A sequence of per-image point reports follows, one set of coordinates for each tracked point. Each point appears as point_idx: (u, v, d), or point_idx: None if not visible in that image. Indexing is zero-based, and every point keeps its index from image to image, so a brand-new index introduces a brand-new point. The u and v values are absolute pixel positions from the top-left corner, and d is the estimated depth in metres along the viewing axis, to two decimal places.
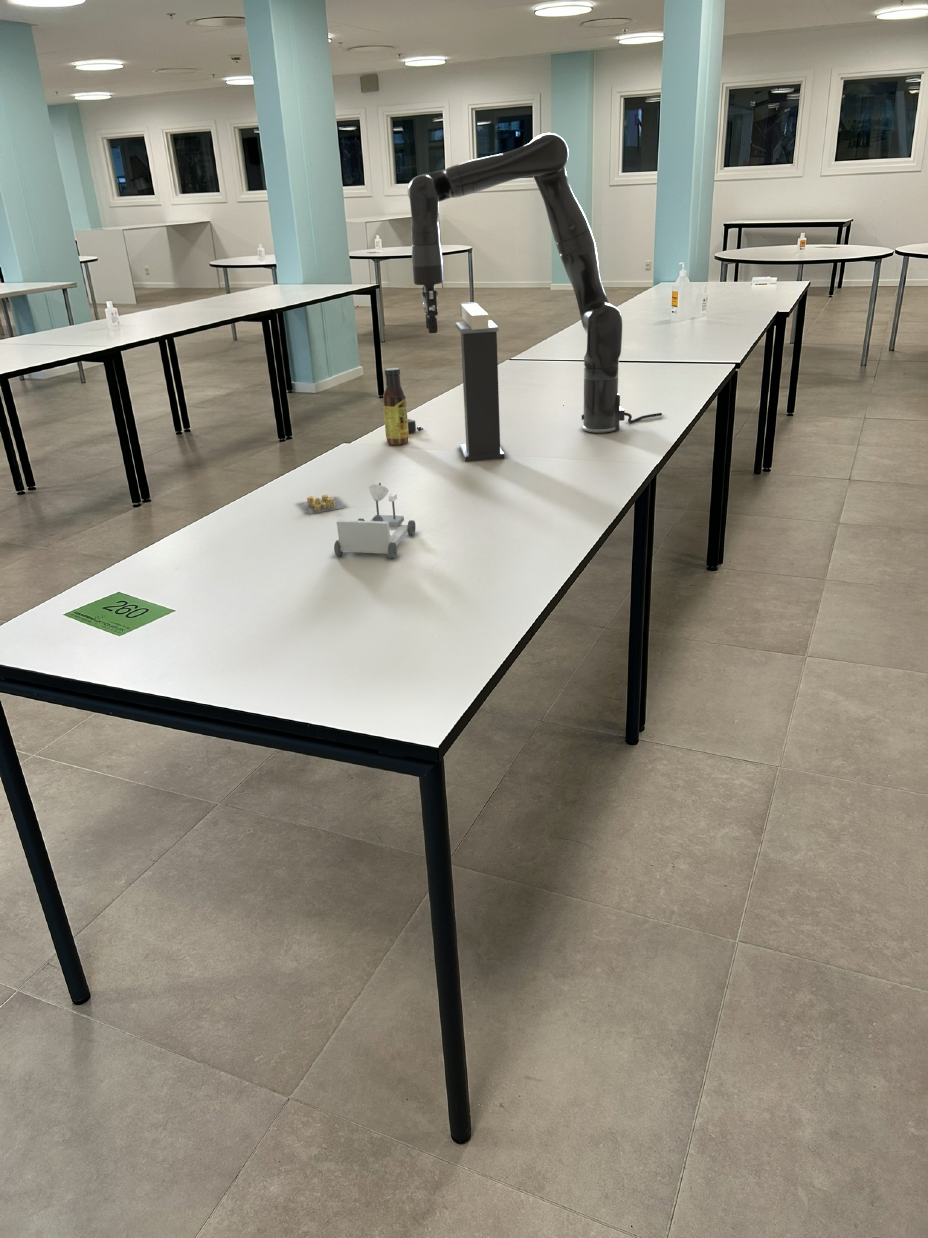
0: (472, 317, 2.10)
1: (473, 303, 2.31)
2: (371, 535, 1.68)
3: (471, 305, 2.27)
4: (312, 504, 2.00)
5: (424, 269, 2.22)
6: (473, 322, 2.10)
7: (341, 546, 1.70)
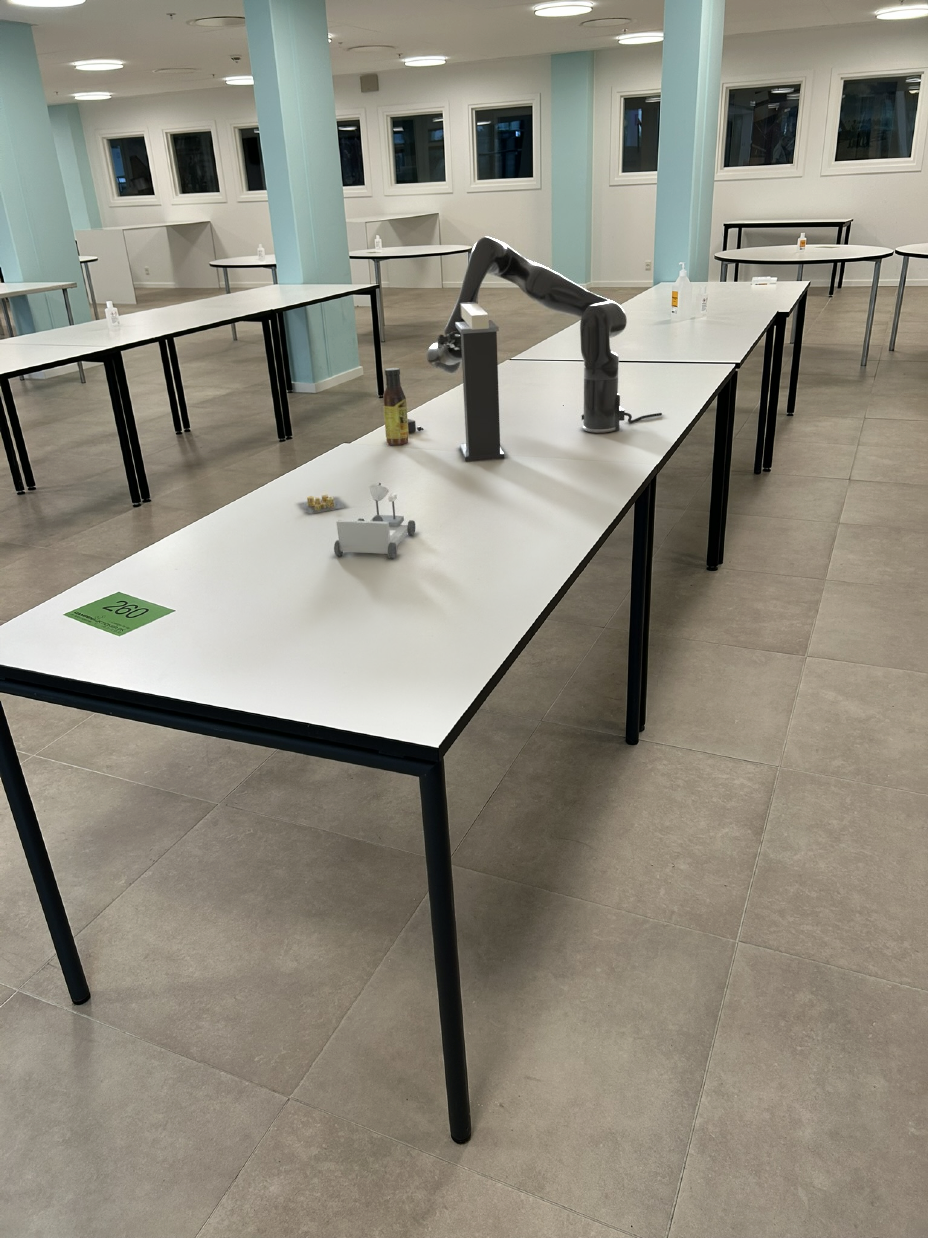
0: (472, 317, 2.10)
1: (473, 303, 2.31)
2: (370, 535, 1.68)
3: (471, 305, 2.27)
4: (312, 504, 2.00)
5: (444, 350, 2.51)
6: (473, 322, 2.10)
7: (341, 546, 1.70)
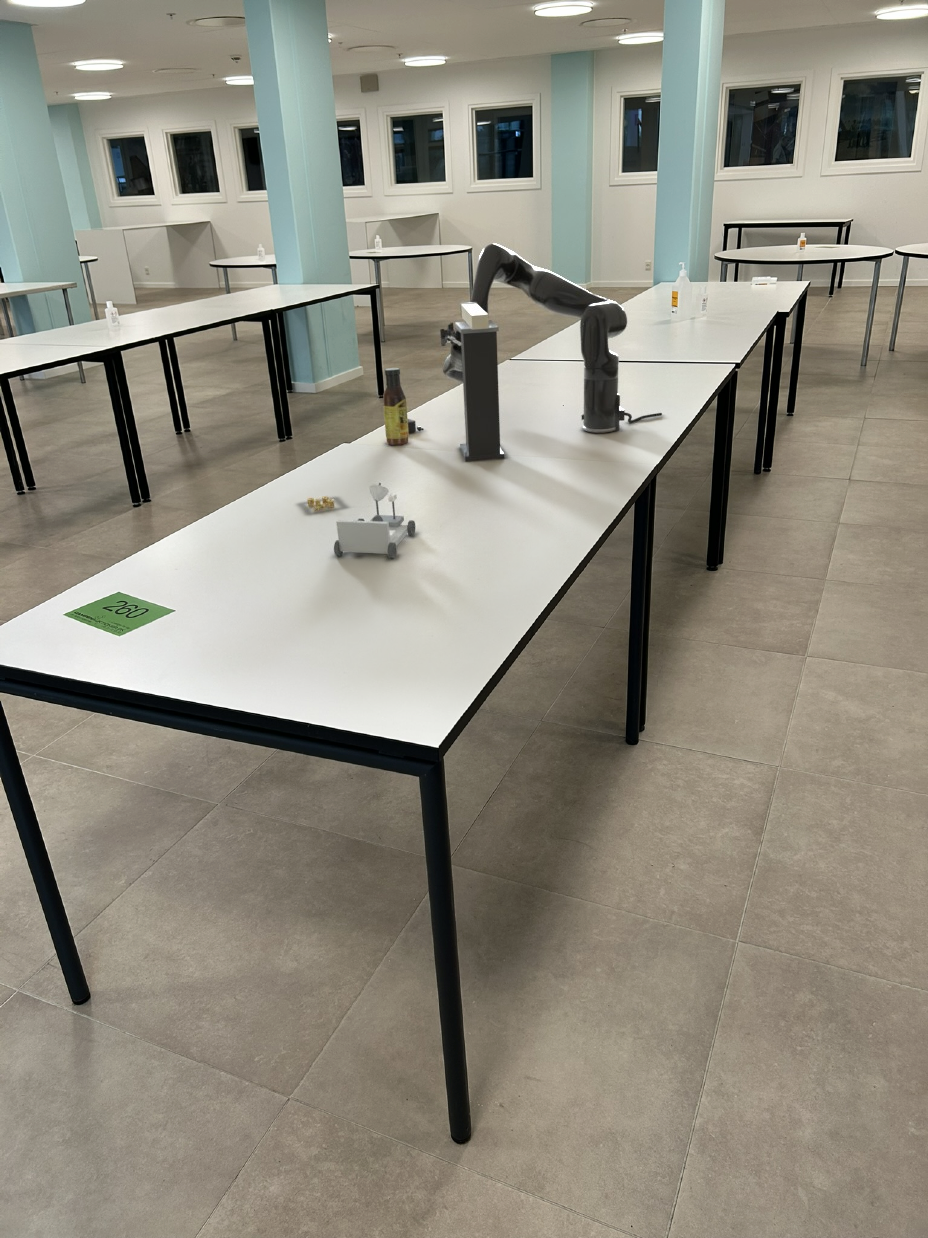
0: (472, 317, 2.10)
1: (473, 303, 2.31)
2: (370, 535, 1.68)
3: (471, 305, 2.27)
4: None
5: (452, 351, 2.51)
6: (473, 322, 2.10)
7: (341, 546, 1.70)
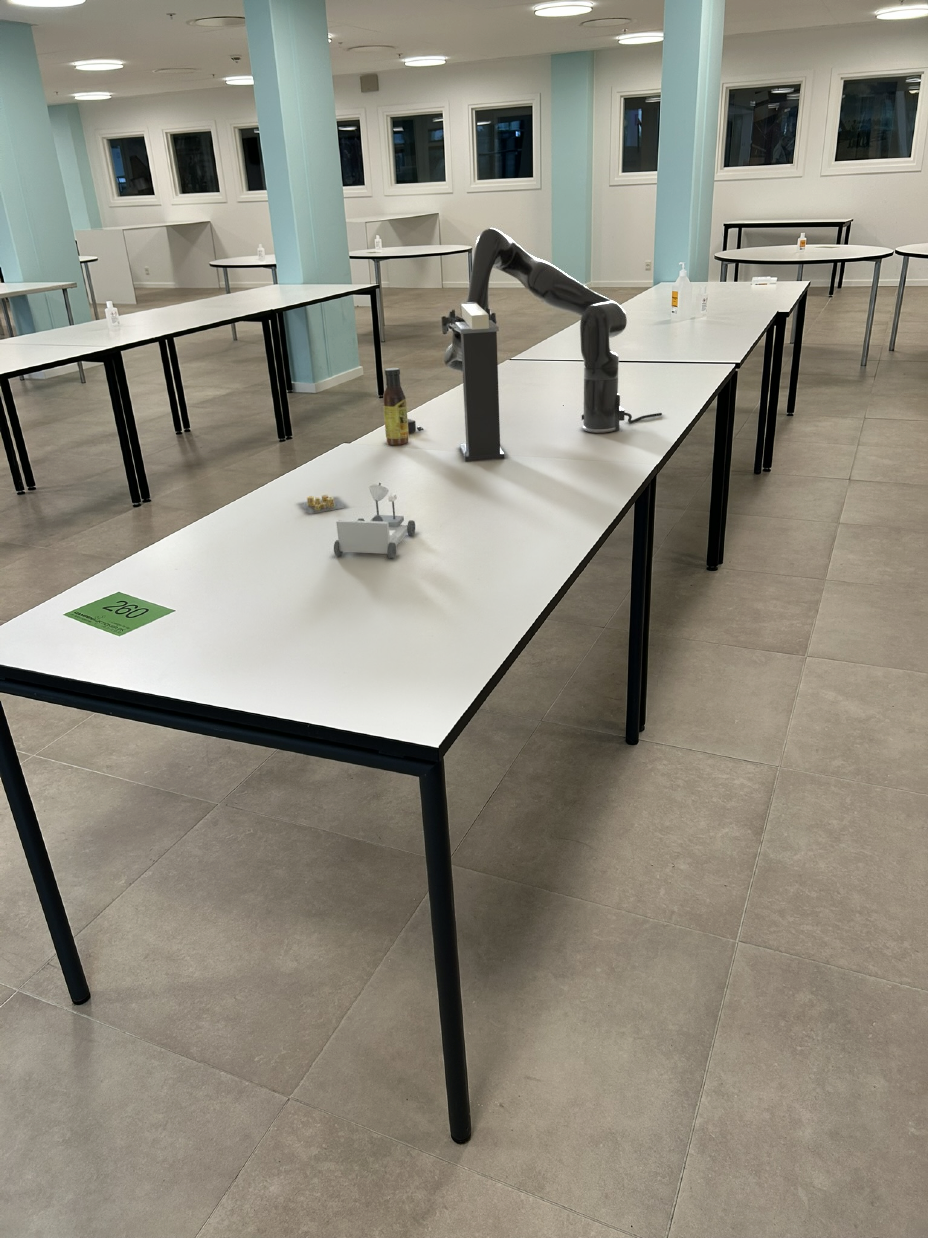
0: (472, 317, 2.10)
1: (473, 303, 2.31)
2: (370, 535, 1.68)
3: (471, 305, 2.27)
4: (312, 504, 2.00)
5: (453, 339, 2.43)
6: (473, 322, 2.10)
7: (341, 546, 1.70)
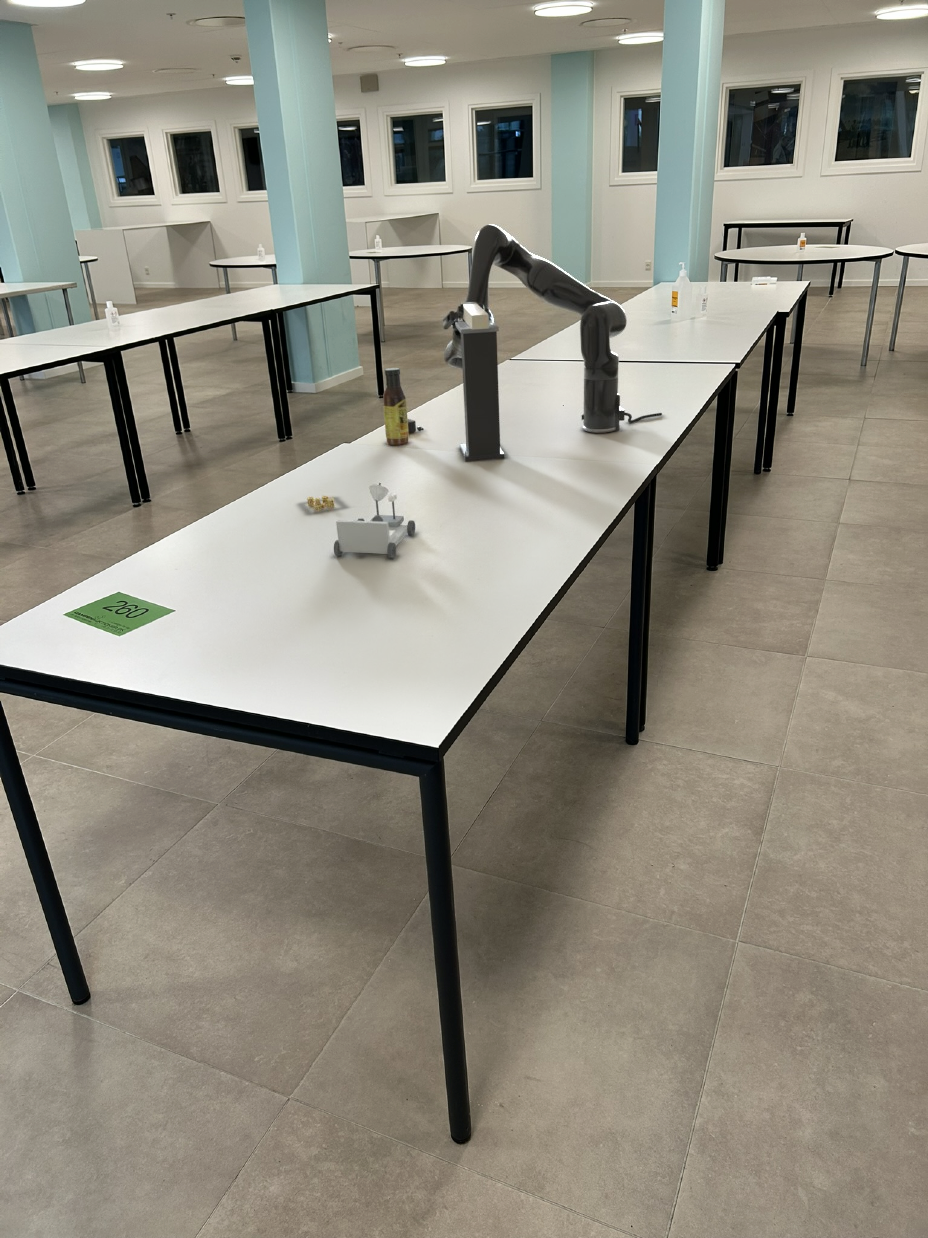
0: (472, 317, 2.10)
1: (473, 303, 2.30)
2: (370, 535, 1.68)
3: (471, 305, 2.27)
4: (312, 505, 2.00)
5: (453, 337, 2.41)
6: (473, 322, 2.10)
7: (340, 546, 1.70)
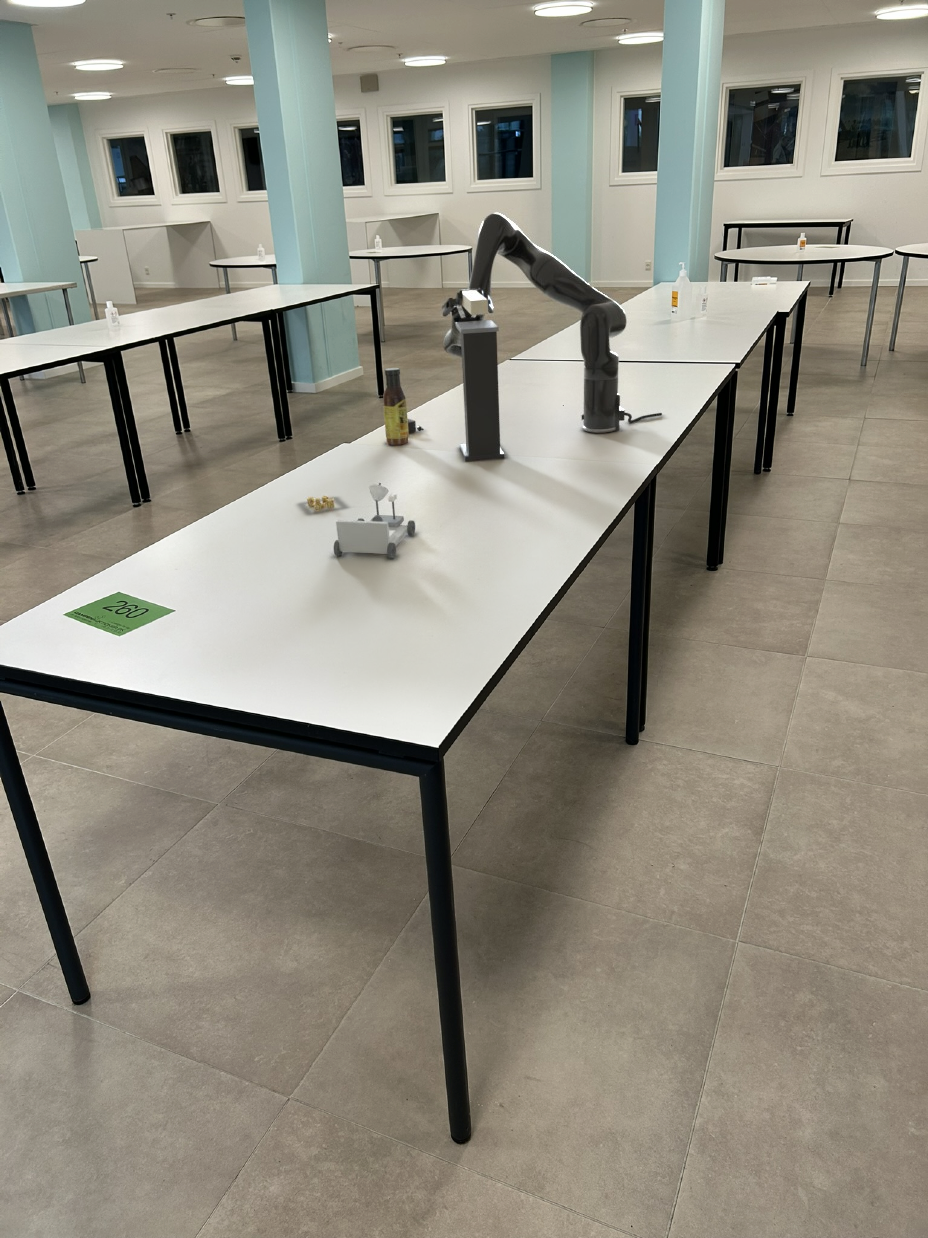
0: (471, 302, 2.09)
1: (472, 290, 2.29)
2: (370, 535, 1.68)
3: (470, 291, 2.26)
4: (312, 505, 2.00)
5: (452, 324, 2.40)
6: (472, 307, 2.09)
7: (340, 546, 1.70)
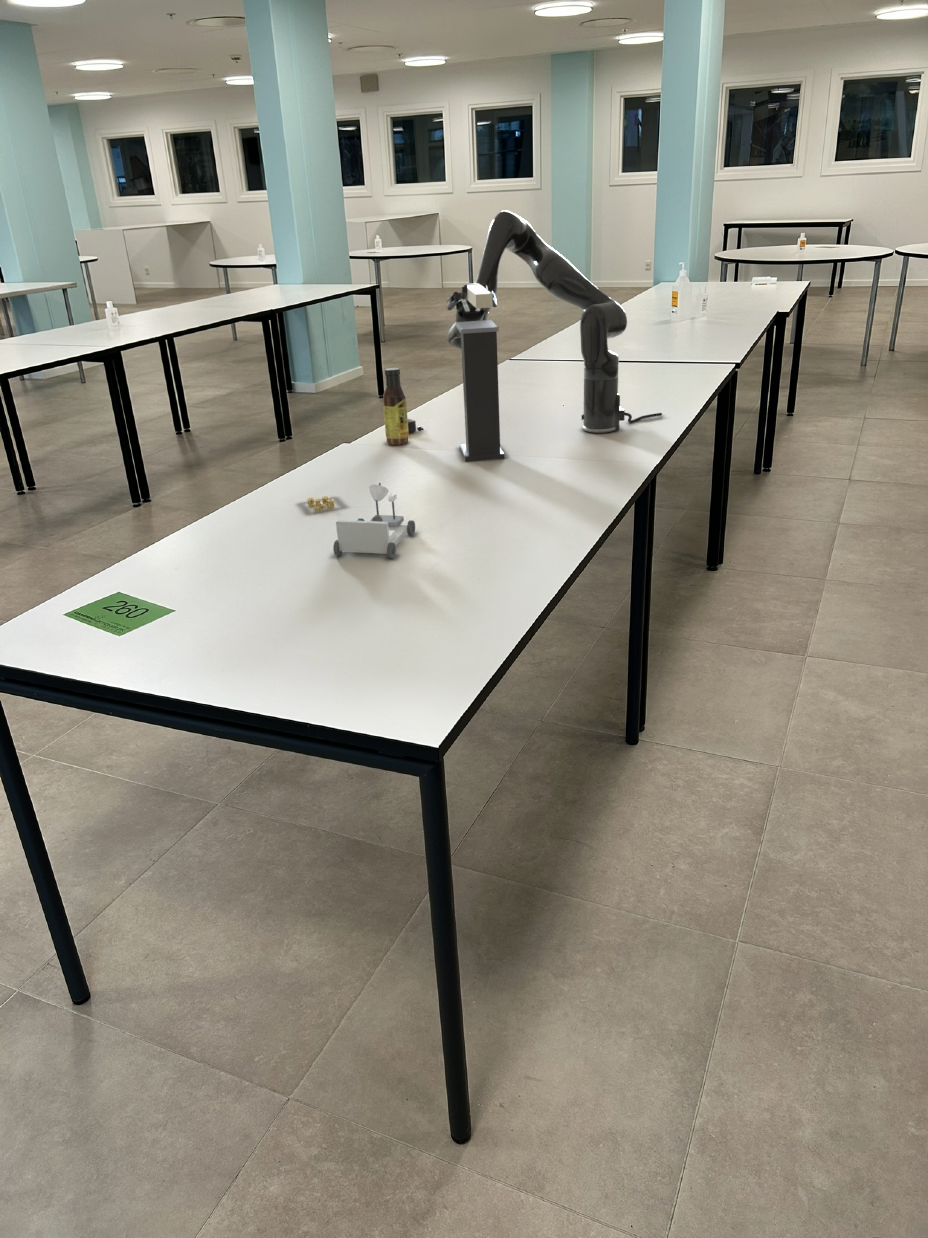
0: (476, 296, 2.14)
1: (476, 284, 2.35)
2: (370, 535, 1.68)
3: (474, 286, 2.31)
4: None
5: (457, 318, 2.46)
6: (477, 301, 2.15)
7: (340, 546, 1.71)
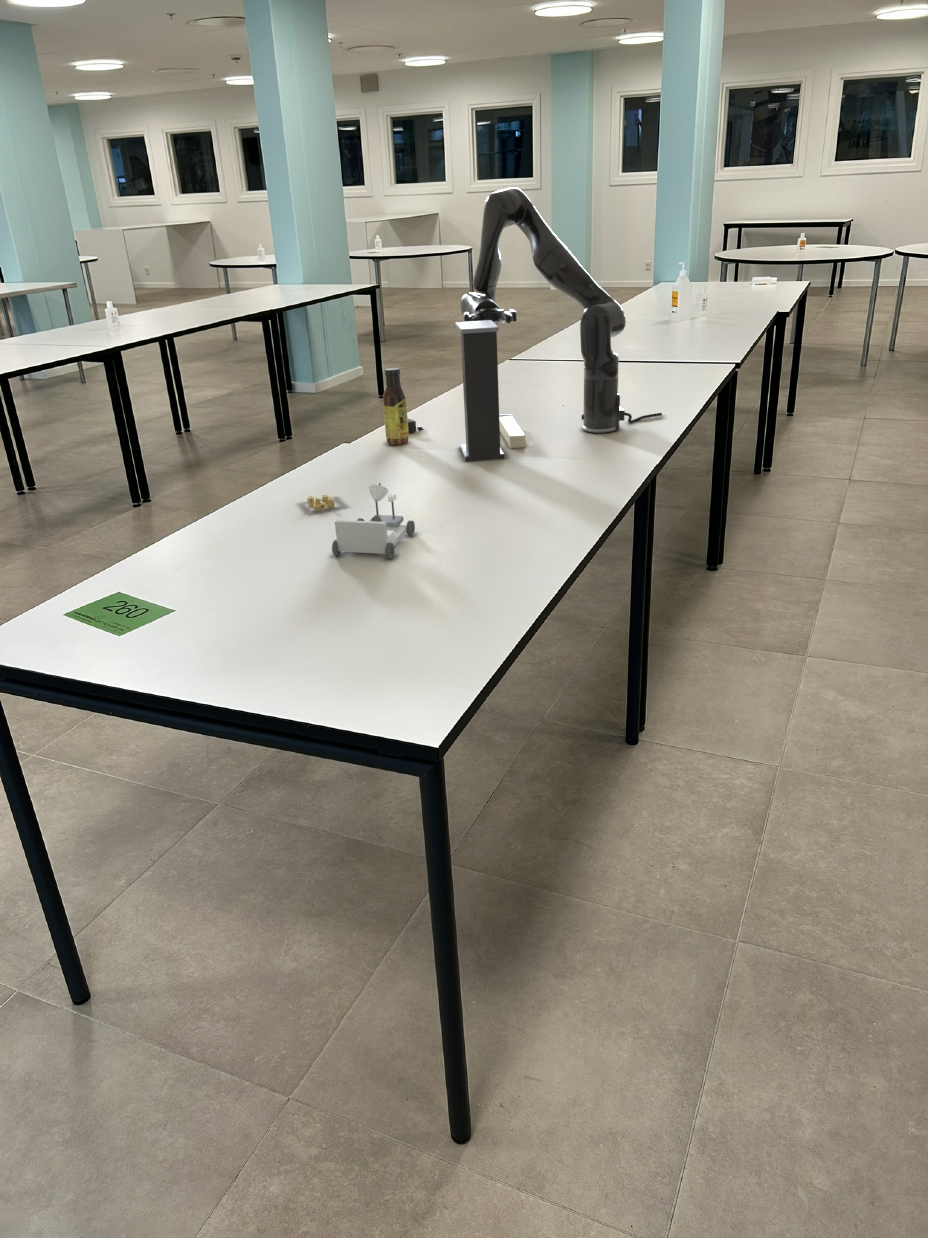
0: (510, 438, 2.34)
1: (508, 415, 2.55)
2: (368, 535, 1.68)
3: (507, 419, 2.51)
4: (312, 504, 2.00)
5: None
6: (511, 442, 2.35)
7: (339, 546, 1.71)
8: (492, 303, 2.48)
